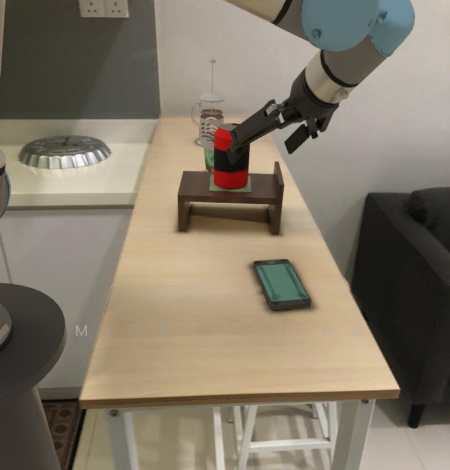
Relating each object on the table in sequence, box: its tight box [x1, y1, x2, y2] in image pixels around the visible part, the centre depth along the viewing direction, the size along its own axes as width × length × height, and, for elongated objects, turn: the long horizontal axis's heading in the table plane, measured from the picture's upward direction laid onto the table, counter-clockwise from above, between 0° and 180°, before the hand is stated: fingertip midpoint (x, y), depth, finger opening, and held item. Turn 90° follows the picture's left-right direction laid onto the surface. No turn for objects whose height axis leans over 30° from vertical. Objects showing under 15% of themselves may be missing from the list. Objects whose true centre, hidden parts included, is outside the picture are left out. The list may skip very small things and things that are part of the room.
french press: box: [190, 57, 226, 146], centre depth 146 cm, size 10×12×25 cm
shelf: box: [177, 160, 285, 236], centre depth 104 cm, size 22×14×12 cm, turn 89°
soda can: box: [213, 122, 251, 189], centre depth 99 cm, size 8×8×12 cm
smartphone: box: [252, 258, 312, 311], centre depth 85 cm, size 7×1×15 cm
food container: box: [200, 138, 214, 172], centre depth 125 cm, size 12×6×10 cm, turn 88°
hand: (259, 152), depth 89 cm, fingers open, 13 cm apart
